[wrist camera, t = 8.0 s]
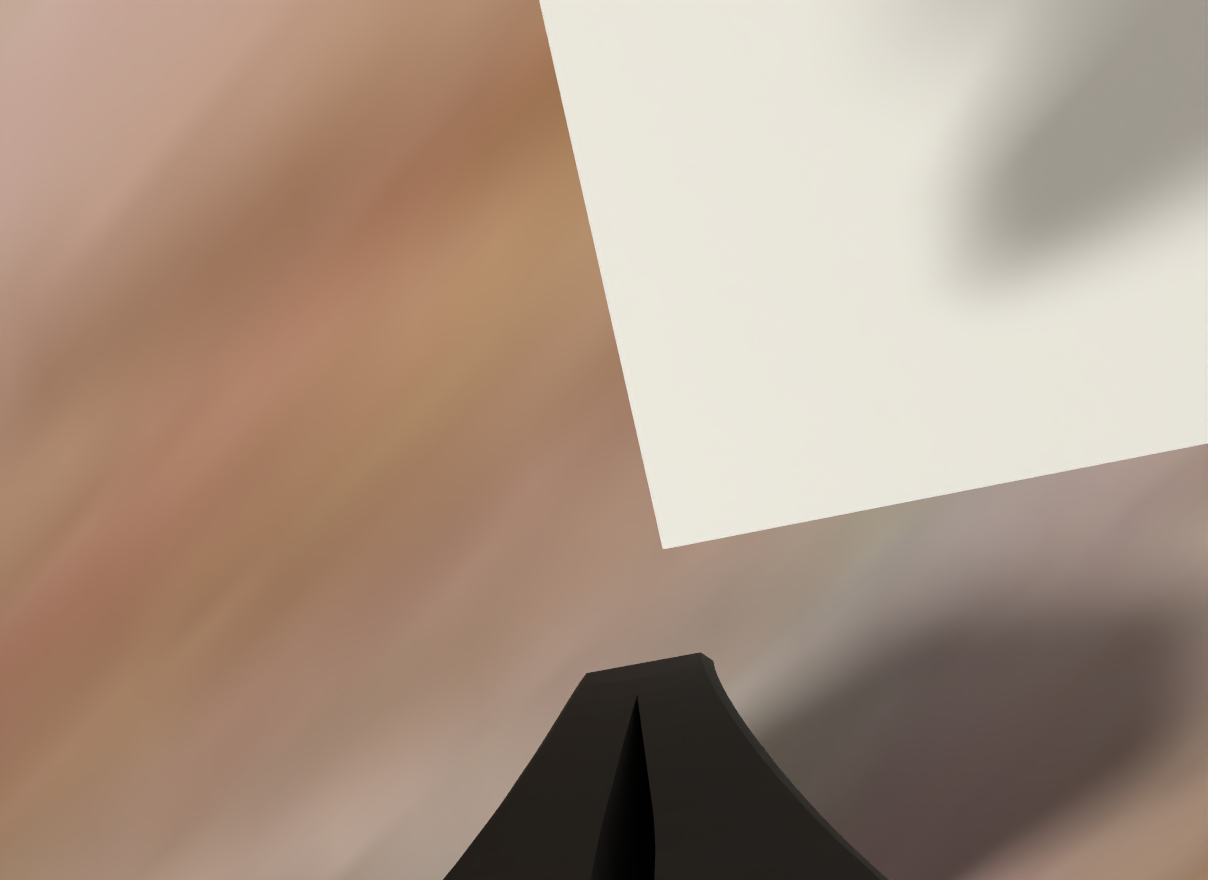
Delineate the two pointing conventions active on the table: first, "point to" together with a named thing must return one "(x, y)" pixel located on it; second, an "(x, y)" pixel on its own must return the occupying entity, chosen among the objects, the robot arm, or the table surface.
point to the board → (891, 241)
